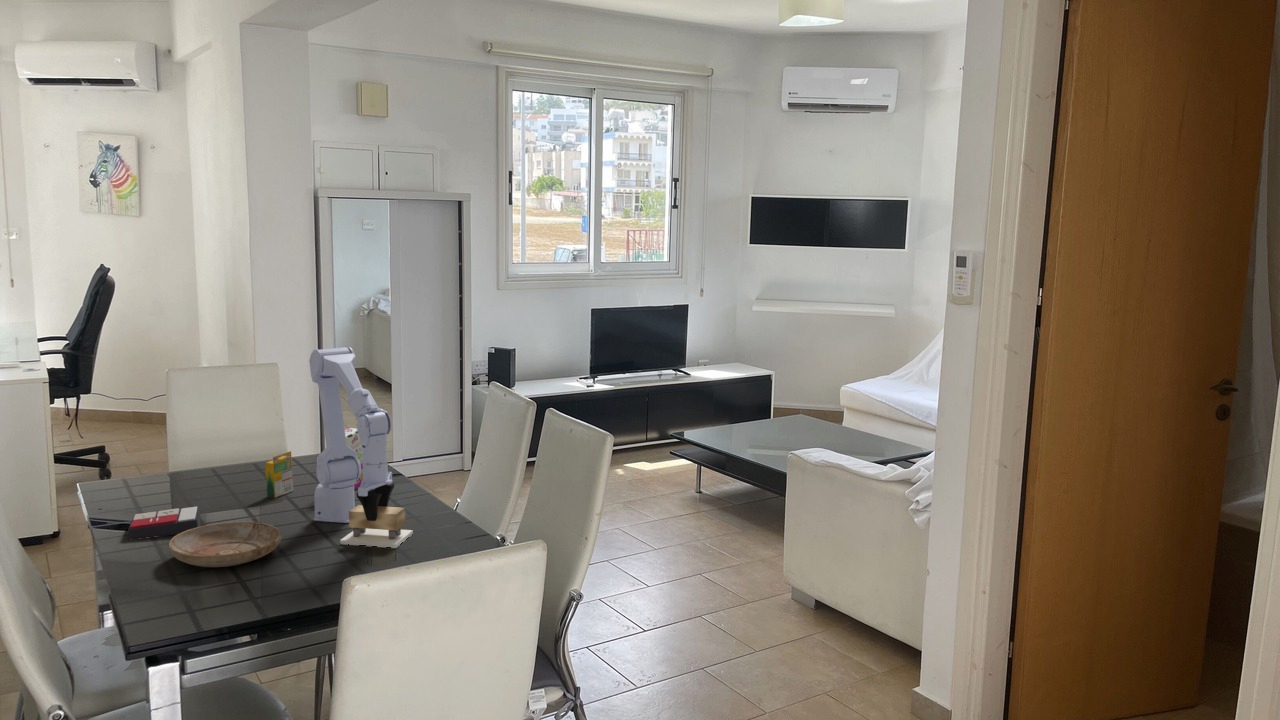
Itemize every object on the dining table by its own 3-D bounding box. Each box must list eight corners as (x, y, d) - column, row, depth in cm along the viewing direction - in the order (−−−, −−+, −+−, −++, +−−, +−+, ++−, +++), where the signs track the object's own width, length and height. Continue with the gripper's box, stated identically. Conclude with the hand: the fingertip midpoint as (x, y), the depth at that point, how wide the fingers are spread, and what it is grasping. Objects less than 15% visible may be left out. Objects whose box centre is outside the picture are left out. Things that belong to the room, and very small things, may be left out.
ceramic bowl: (212, 585, 199) (211, 563, 198) (148, 562, 211) (146, 541, 210) (303, 553, 218) (302, 532, 217) (239, 534, 230) (238, 514, 230)
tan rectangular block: (349, 527, 226) (348, 511, 225) (358, 520, 230) (358, 504, 230) (396, 530, 224) (396, 514, 223) (405, 523, 229) (404, 507, 228)
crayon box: (285, 489, 266) (283, 449, 265) (293, 491, 265) (292, 451, 264) (266, 496, 260) (264, 455, 258) (275, 498, 259) (273, 457, 257)
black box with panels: (133, 513, 234) (199, 503, 240) (135, 529, 235) (201, 520, 240) (127, 526, 224) (196, 516, 229) (129, 544, 225) (198, 533, 230)
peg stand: (340, 544, 224) (339, 532, 223) (359, 530, 234) (359, 518, 233) (396, 548, 222) (395, 536, 221) (412, 534, 231) (412, 522, 231)
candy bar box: (350, 482, 275) (348, 427, 272) (366, 483, 274) (364, 428, 271) (330, 493, 264) (328, 436, 261) (347, 494, 263) (345, 437, 260)
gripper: (377, 470, 217) (379, 527, 219) (403, 455, 231) (404, 508, 233) (348, 469, 218) (350, 525, 220) (376, 453, 232) (377, 506, 234)
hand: (376, 516), depth 227 cm, fingers closed on tan rectangular block, 5 cm apart
